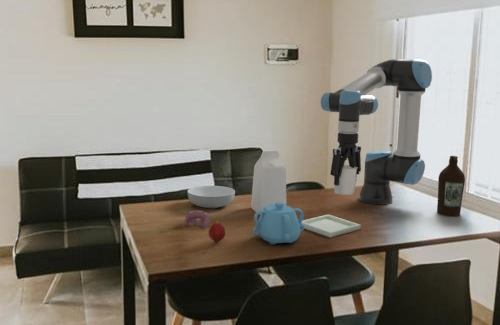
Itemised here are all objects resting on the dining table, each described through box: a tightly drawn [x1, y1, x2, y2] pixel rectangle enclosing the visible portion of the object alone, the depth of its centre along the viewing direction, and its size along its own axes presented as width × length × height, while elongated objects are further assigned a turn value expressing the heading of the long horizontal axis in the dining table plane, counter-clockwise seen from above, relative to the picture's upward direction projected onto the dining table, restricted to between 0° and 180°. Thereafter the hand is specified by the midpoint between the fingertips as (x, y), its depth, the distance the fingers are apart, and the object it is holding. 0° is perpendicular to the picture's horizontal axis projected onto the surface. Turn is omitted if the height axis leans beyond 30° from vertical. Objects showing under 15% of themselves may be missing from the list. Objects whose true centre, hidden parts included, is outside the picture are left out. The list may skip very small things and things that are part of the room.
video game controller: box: [183, 210, 212, 230], centre depth 209 cm, size 10×5×7 cm, turn 72°
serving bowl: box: [186, 185, 236, 209], centre depth 238 cm, size 21×21×7 cm
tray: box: [300, 213, 362, 238], centre depth 210 cm, size 17×17×2 cm
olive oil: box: [436, 155, 466, 217], centre depth 232 cm, size 11×11×25 cm
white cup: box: [340, 164, 357, 196], centre depth 205 cm, size 8×8×10 cm
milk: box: [250, 149, 287, 216], centre depth 230 cm, size 12×12×26 cm
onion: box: [208, 220, 226, 244], centre depth 190 cm, size 6×6×8 cm
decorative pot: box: [252, 202, 305, 245], centre depth 194 cm, size 16×16×14 cm
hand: (344, 191), depth 206 cm, fingers closed on white cup, 8 cm apart
